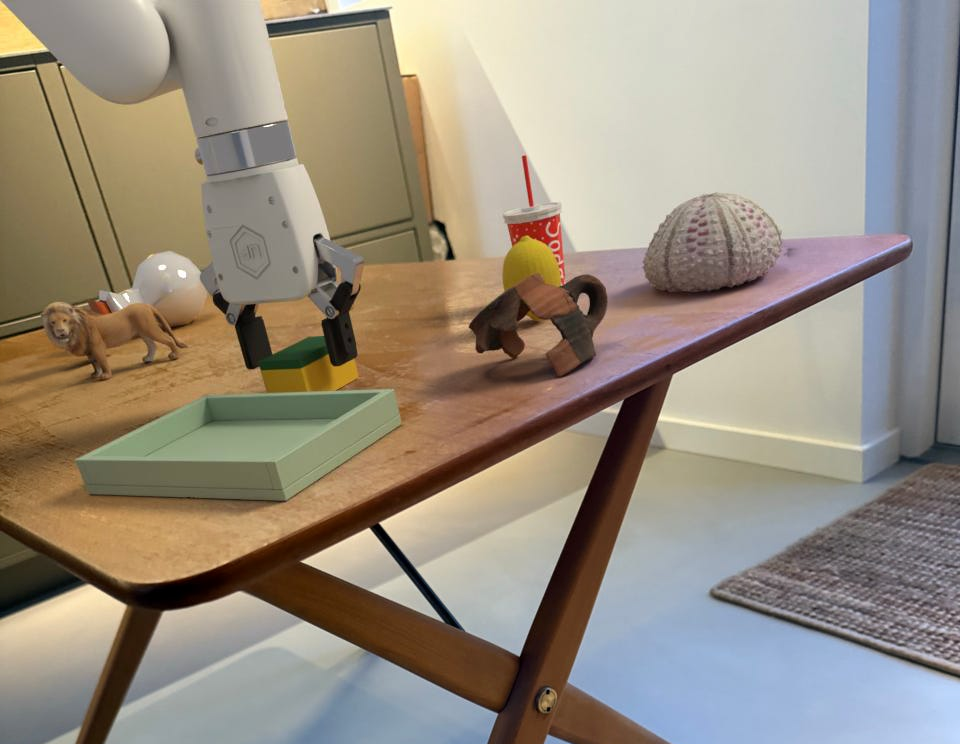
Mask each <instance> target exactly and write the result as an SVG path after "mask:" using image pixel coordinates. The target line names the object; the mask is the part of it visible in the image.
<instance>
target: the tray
mask: <svg viewBox="0 0 960 744" xmlns="http://www.w3.org/2000/svg"><path fill="white" fill-rule="evenodd" d="M398 404H399V403H398V400H397V396H396V391H395V389H394V388H386V389H385V388H380V389H379V388H377V389H376V388H375V389H347V390H346V389H345V390H336V391H316V392H287V393H267V392H262V393H232V394H231V393H230V394H229V393H228V394H206V395H205V394H204V395H203V396H201V397H199V398H197V399H195V400H193V401H191V402H189V403H186V404H185V405H182V406H180V407H179V408H176V409H174V410H173V411H170V412H168V413H166V414H164V415H162V416H161V417H158V418H157V419H155V420H152V421H150V422H147V423H145V425H142V426H140V427H138V428H136V429H134V430H132V431H130V432H128V433H126V434H124V435H121V436H120V437H117V438H116V439H114V440H112V441H110V442H108V443H106V444H104V445H102V446H100V447H98V448H96V449H94V450H91V451H90V452H88V453H85V454H84V455H81V456H79V457H77V458H76V459H74V461H75V464H76V467H77V469H78V472H79V474H80V476H81V480H82V482H83V484H84V487H85V489H86V492H87V494H88V495H101V496H103V495H104V496H130V497H131V496H133V497H163V498H187V497H191V498H190V499H192V498H193V497H194V498H193V499H218V500H219V499H220V500H247V501H248V500H249V501H276V502H277V501H279V502H287V501H289V500H290V499H291V498H293V497H294V496H296V495H297V494H299V493H300V492H302V491H303V490H305V489H307V488H308V487H309V486H312V484H314V483H315V482H317V481H318V480H320V479H322V478H324V477H325V476H326V475H327V474H329V473H331V472H332V471H333V470H335V469H337V468H338V467H339V466H341V465H343V464H344V463H345V462H347V461H349V460H351V459H352V458H353V457H355V456H356V455H358V454H359V453H361V452H362V451H364V450H366V449H367V448H369V447H370V446H371V445H373V444H374V443H376V442H377V441H379V440H380V439H382V438H383V437H385V436H386V435H388V434H389V433H390V432H393V431H394V430H395V429H397V428H399V427H400V426H402V423H403V421H402V418H401V417H402V416H401V414H400V408H399V405H398Z"/></svg>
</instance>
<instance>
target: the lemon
mask: <svg viewBox="0 0 960 744" xmlns="http://www.w3.org/2000/svg"><path fill="white" fill-rule="evenodd" d="M536 273H540V274H541V276H542V278H543V280H544V281H545V283H546V284H550V285H555V286H557V287H559V286H561V275H560V270H559V266H558V263H557V261H556V258H555V256H554V254H553V252H552V251H551V249H550V248H549V247H548V246H547V245H545V244H544V243H542V242H540V241H538V240H534V239H531V238H530V237H529V236H524V237H522V238H521V239H520V241H519V242H518V243H516V244H515V245H514V246H513V247H512V246H511V247H510V249H509V250H508V252H507V253H506V255H505V258H504V259H503V265H502V285H503V290H504V291H503V292H505V291H507V290H508V289H510V288H512V287H513V286H514V285H516V284H517V283H519V282H520V281H522V280H523V279H525V278H527V277H528V276H531V275H533V274H536ZM526 316H527V317H529V318H530V319H531V320H532V321H534V322H537V323H538V322H540V321H541V322H542V319H540V318H538V317H537V316H535V315H533V314H532V313H531V311H529V312H528V313H527V315H526Z"/></svg>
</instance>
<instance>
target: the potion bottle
mask: <svg viewBox="0 0 960 744" xmlns="http://www.w3.org/2000/svg"><path fill="white" fill-rule="evenodd" d="M201 273H202V271H201V270H200V269H199V268H198V267H197V266H196V264H194V263H193V261H192V260H191V259H190V258H188V257H186V256H184V255H181V254H179V253H177V252H175V251H172V250H167V251H166V250H165V251H162V252H161V251H160V252H157V253H151V254H149V255H148V257H146V258H144V260H143V261H142V262H141V263H139V265H138V266H137V268H136V272H135V276H134V279H133V284H132V287H130V288H128V289H127V288H126V289H125V290H122V291H120V292H118V293H115V292H112V291H108V290H102V289H99V293H98V294H99V295H98V300H92V299H86V301H87V304H88V306H89V309H90V310H92V311H94V312H96V313H101V314H103V315H107V314H111V313H114V312H117V311H119V310H121V309H123V308H125V307H127V306H128V305H130V304H133V303H144V304H148V305H150V306H152V307H154V308H155V309H156V310H157V311H159V313H160V314H161V315H162V316H163V317H164V319H165V320H166V322H167V323H168V325H169V327H170V328H171V329H172V328H175V327H181V326H187V325H189V324H191V323H192V322H193V321H194V319H196V317H197V316H198V315H199V314H200V313H201V312H202V311H203V309H204V306H205V303H206V300H207V297H208V295H209V293H208V291H207V290H206V288H205V287H204V285H203V284H202V282H201V281H200V274H201ZM155 319H156V322H157V324H160V325H162V324H161V323H160V322H159V320H158V319H157V318H155Z"/></svg>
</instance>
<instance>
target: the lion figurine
mask: <svg viewBox="0 0 960 744" xmlns="http://www.w3.org/2000/svg"><path fill="white" fill-rule="evenodd" d="M40 318H41V320H42V327H43V329H44V331H45V334H46V337H47V339H48V340H49V341H50V342H51V344H53V346H54V347H56V348H57V349H60V350H66V351H67V352H68V353H70V354H72V356H73V355H74V356H75V357H78V358H79V357H87V360H88V361H89V362H91V363H90V364H91V365H92V368H93V371H94V372H92V373H91V374H90V378H92V379H97V378H99V380H100V381H106V380H109V379H111V377H112V368H111V366H110V365H109V362H108V357H107V350H108V349H112V348H118V347H121V346H124V345H125V344H127V343H128V342H130V341H131V340H132V338H133V337H134V336H135V335H136V334H137V336H138V337H139V338H140V339H141V341H143V342H144V343H145V345H146V347H147V354H146V355H145V356H143V357H142V358H141V359H142V363H148V362H152V361H153V360H154V359H155V355H156V351H157V348H158V346H157V343H159V344H162V345H165V346H166V347H168V348H169V349H170V351H171V352H169V353H168V355H167V358H168V359H169V360H176V359H179V357H180V356H181V355H180V351H179V349H187V348H189V346H188V344H185V343H184V342H182V341H180V340H178V339H177V337H176V336H175V334H174V332H173V330H172V327H171V328H170V327H169V325H168V323H167V322H166V320H165V319H164V317H163V316H162V315H161V314H160V313H159V311H157V310H156V309H155V308H154V307H152V306H150V305H148V304H144V303H133V304H130V305H128V306H127V307H125V308H123V309H121V310H119V311H117V312H114V313H111V314H107V315H103V314H101V313H96V312H94V311H92V310H91V309H90V308H88V307H85V306H84V307H83V306H77V305H75V306H74V305H73V304H70V303H68V302H63V301H55V302H52V303H49V304H48V305H46V306H45V308H44V309H43V311H42V312H40ZM155 318H157V319H158V320H159V322H160V323H161V324H160V323H158V322H156V319H155ZM159 324H160V325H161V326H162V327H163V329H164V330H165V332H164V331H163V330H162V328H161V326H159Z"/></svg>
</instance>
